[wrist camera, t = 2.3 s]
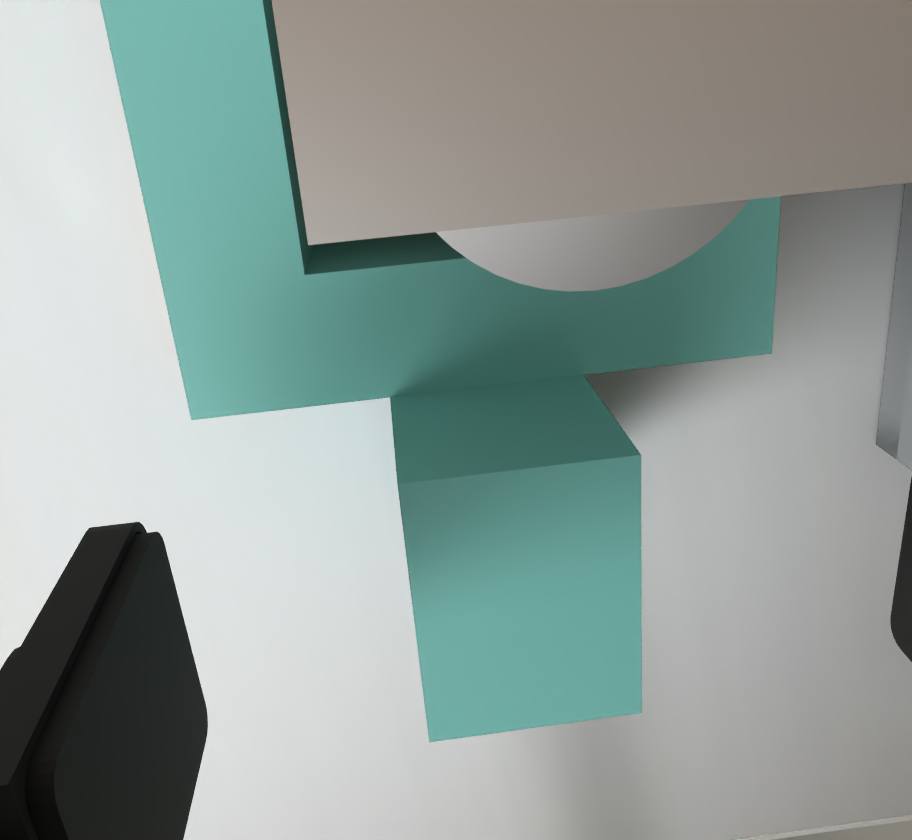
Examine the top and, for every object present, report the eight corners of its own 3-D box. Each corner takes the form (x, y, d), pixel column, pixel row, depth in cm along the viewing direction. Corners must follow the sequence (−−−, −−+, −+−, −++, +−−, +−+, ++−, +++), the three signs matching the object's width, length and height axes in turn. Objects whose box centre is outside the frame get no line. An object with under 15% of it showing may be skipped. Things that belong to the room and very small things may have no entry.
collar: (698, 493, 18) (847, 683, 12) (258, 548, 17) (210, 772, 12) (717, -283, 13) (982, -543, 7) (102, -240, 12) (-106, -486, 7)
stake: (704, 311, 18) (1330, 756, 6) (209, 366, 17) (-98, 970, 6) (720, -295, 14) (2392, -1982, 2) (83, -252, 13) (-1651, -2234, 2)
